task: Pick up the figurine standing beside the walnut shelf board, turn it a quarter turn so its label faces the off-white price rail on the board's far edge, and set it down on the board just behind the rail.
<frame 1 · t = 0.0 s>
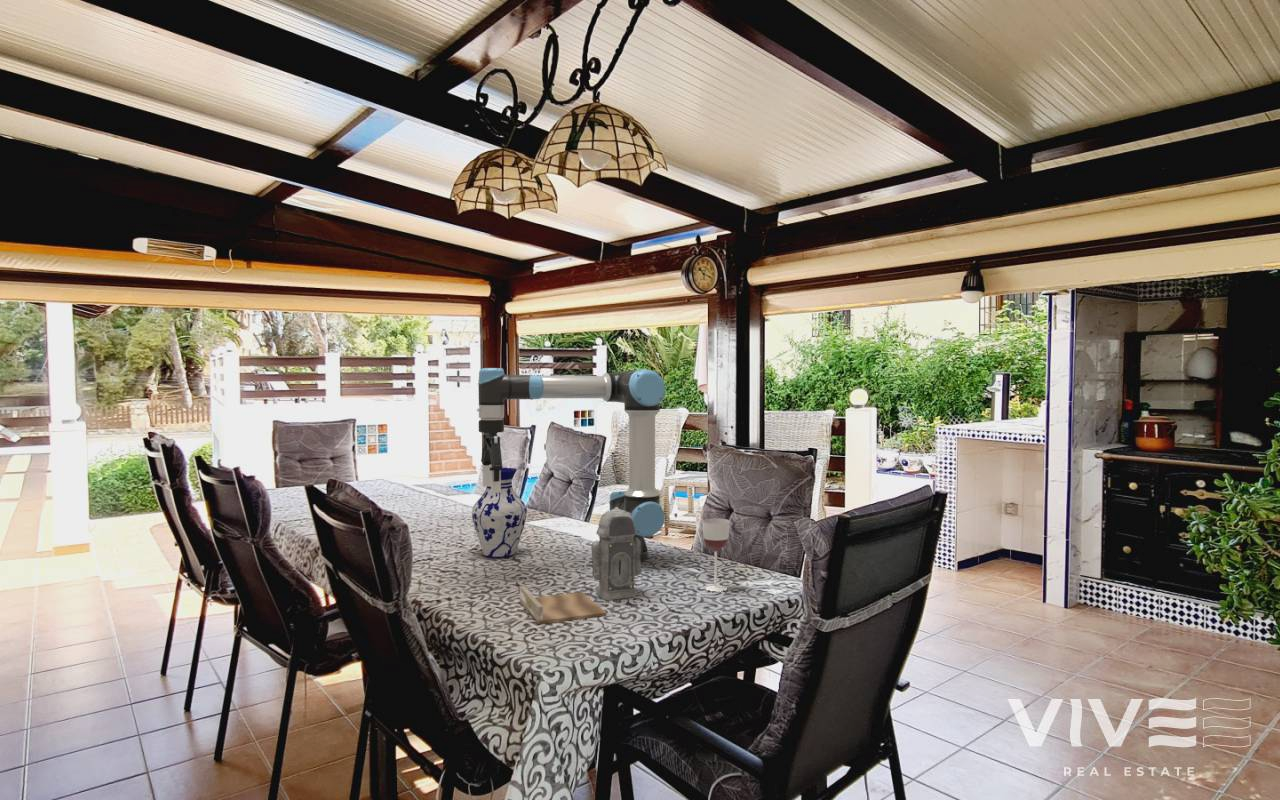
hand: (491, 489, 218), 28 cm above the table, fingers open, 13 cm apart
figurine: (615, 595, 206), on the table
wineglass: (715, 589, 211), on the table
vase: (499, 555, 253), on the table
shelf board: (561, 608, 193), on the table
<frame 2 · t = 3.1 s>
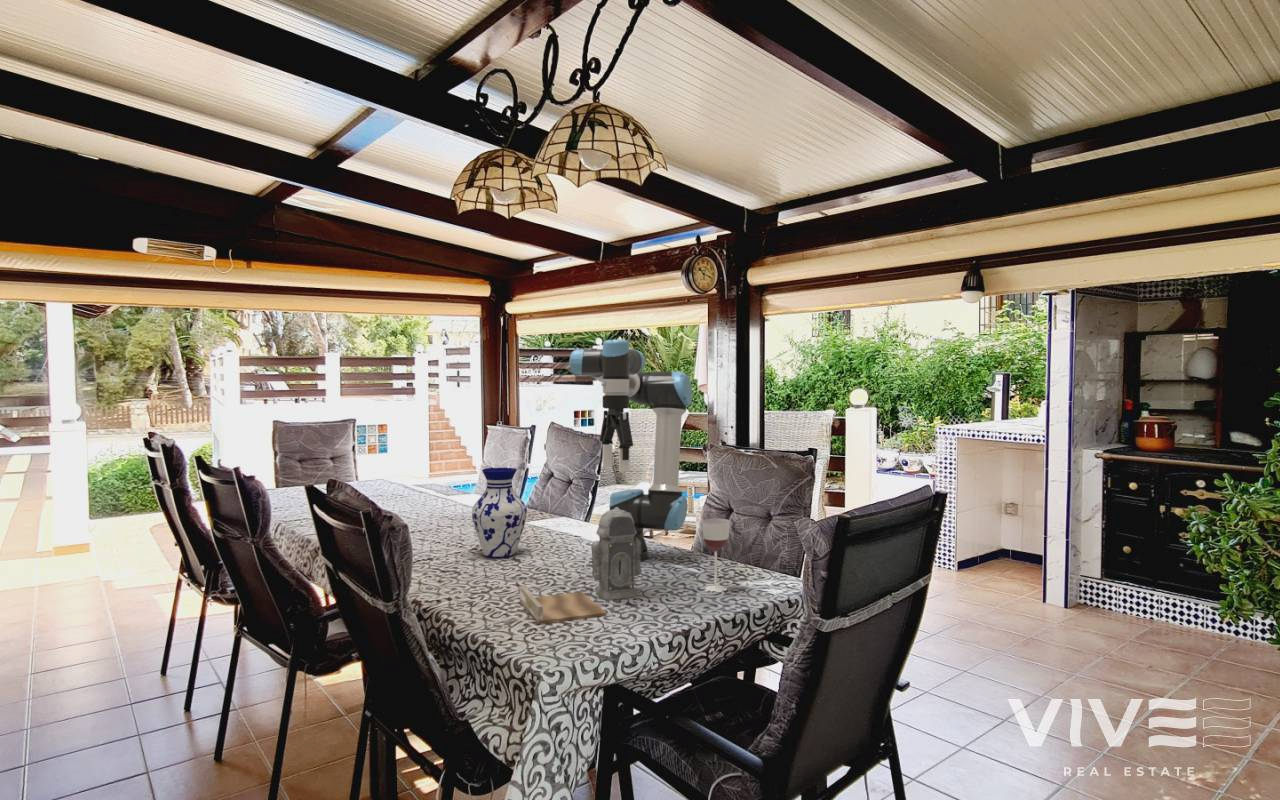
hand: (615, 469, 205), 36 cm above the table, fingers open, 13 cm apart
nothing on the table moved.
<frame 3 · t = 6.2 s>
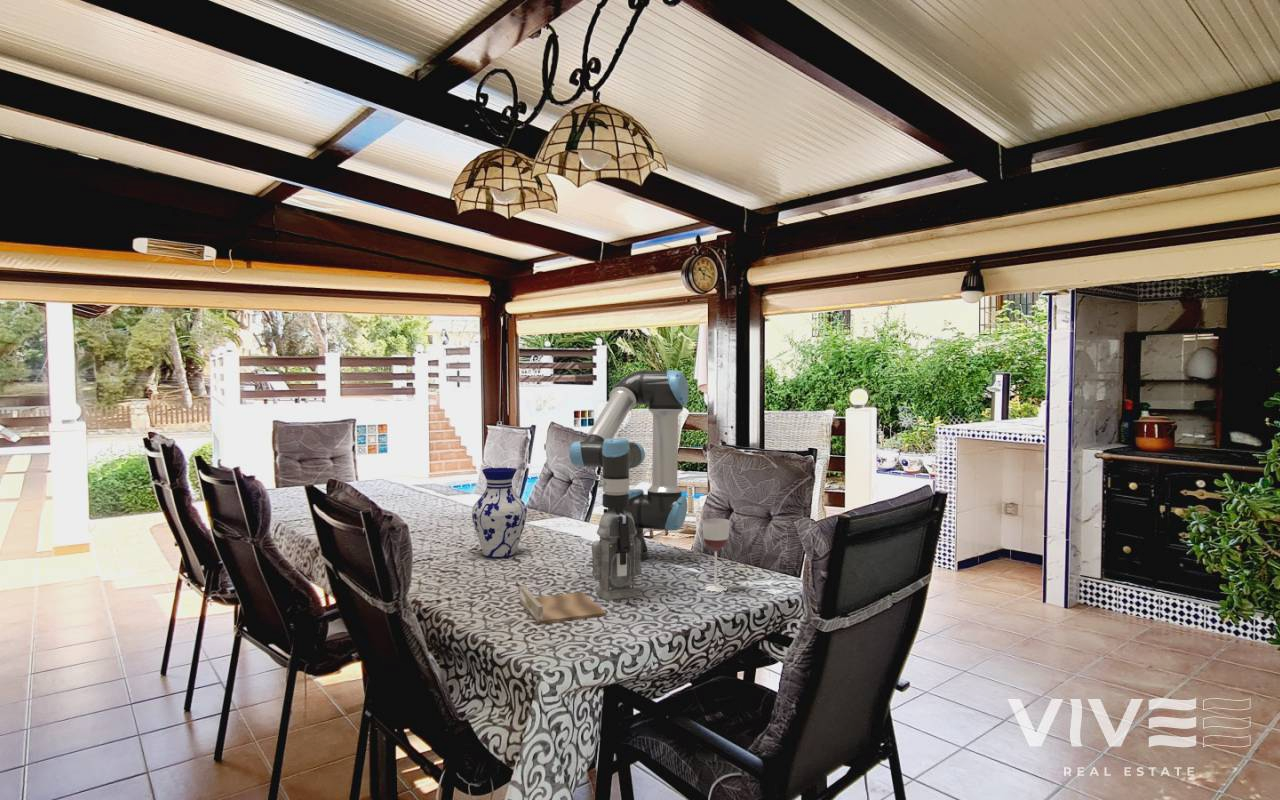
hand: (615, 571, 206), 7 cm above the table, fingers closed on figurine, 9 cm apart
figurine: (615, 594, 206), on the table, touching gripper
everything else where it was.
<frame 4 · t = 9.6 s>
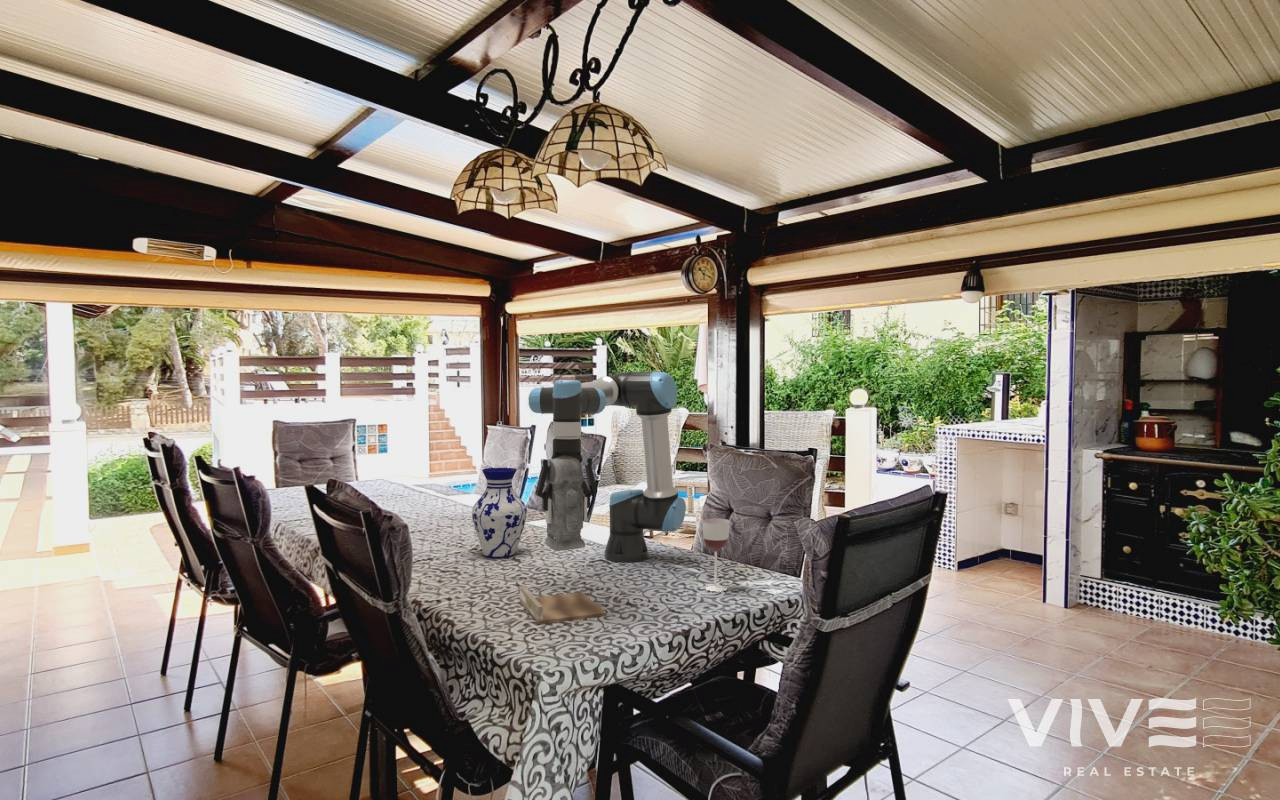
hand: (566, 521, 193), 23 cm above the table, fingers closed on figurine, 9 cm apart
figurine: (566, 546, 193), point 16 cm above the table, touching gripper
everything else where it was.
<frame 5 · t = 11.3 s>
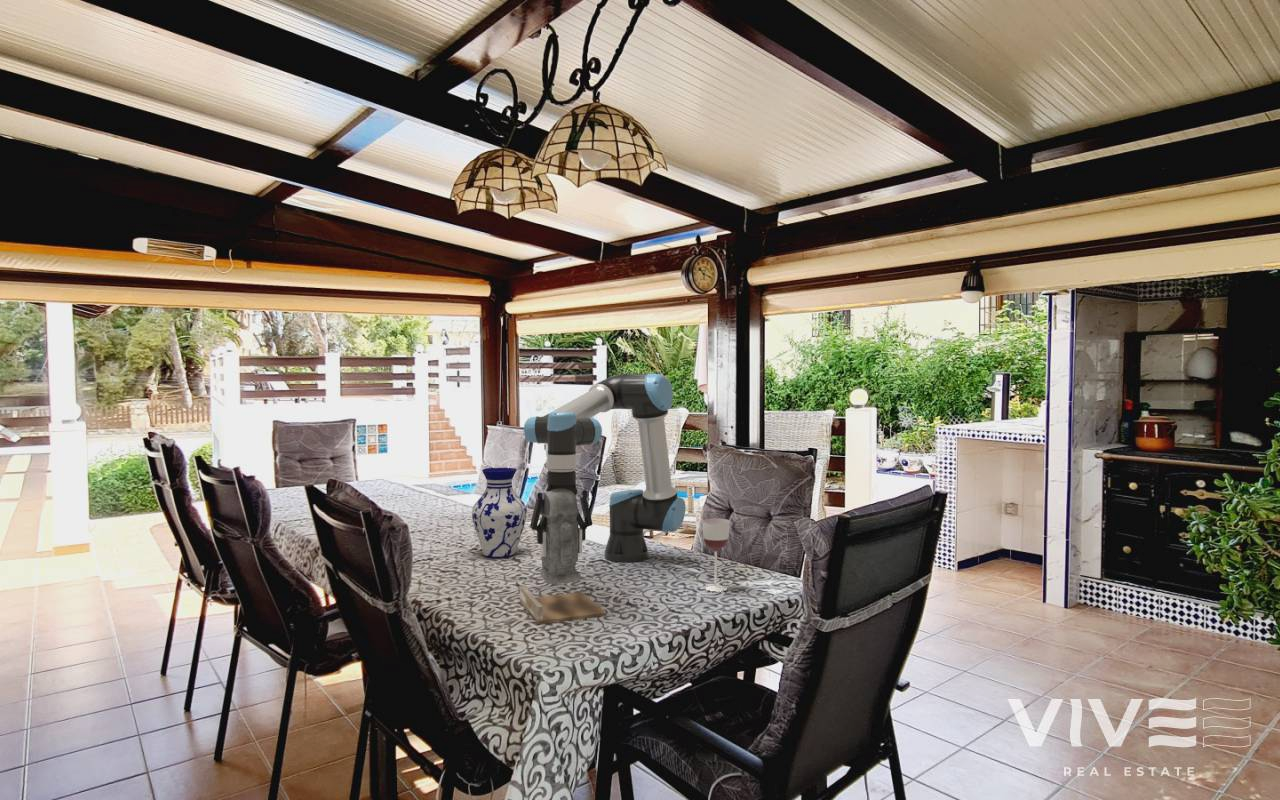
hand: (561, 554, 192), 15 cm above the table, fingers closed on figurine, 9 cm apart
figurine: (561, 579, 192), point 8 cm above the table, touching gripper
everything else where it was.
when the fingers open (8 cm above the table, at t = 13.0 s): figurine stays where it is, resting on shelf board.
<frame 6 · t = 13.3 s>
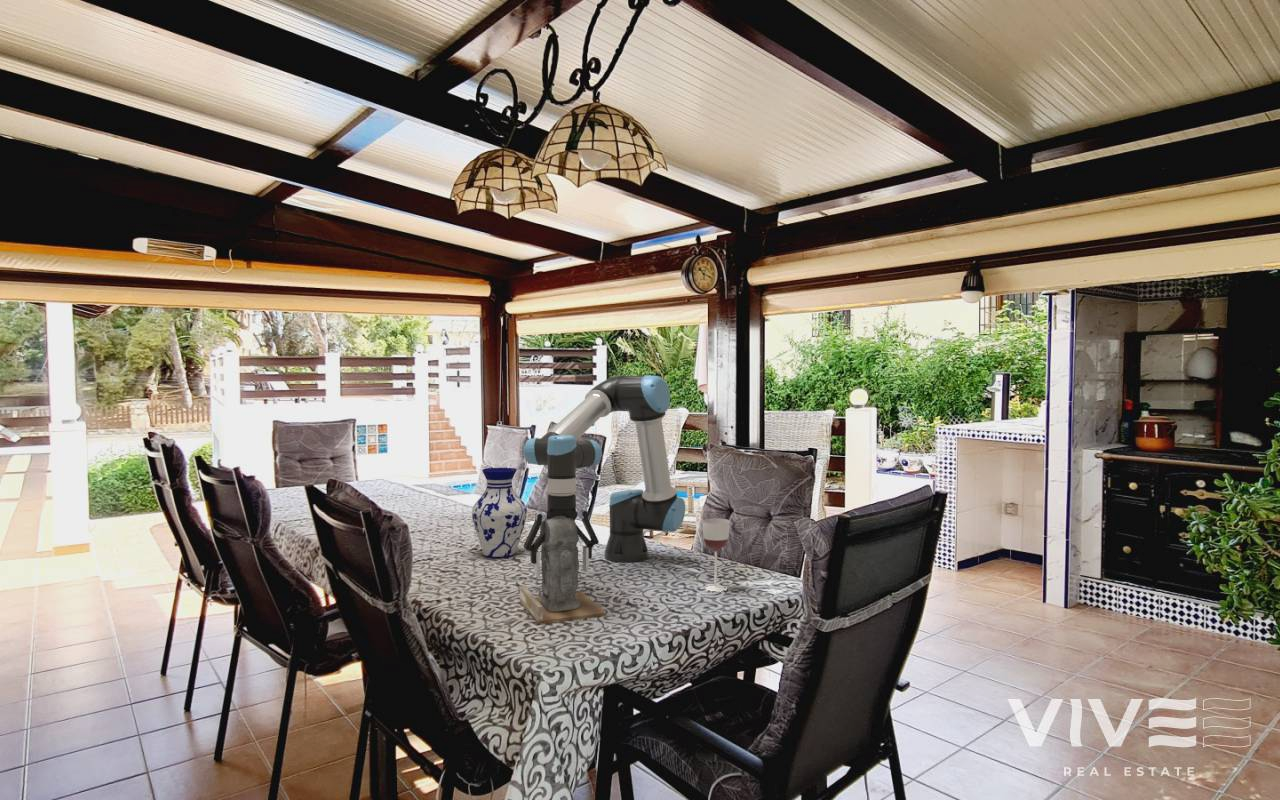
hand: (561, 573, 192), 9 cm above the table, fingers open, 13 cm apart
figurine: (561, 606, 193), point 1 cm above the table, touching shelf board
everything else where it was.
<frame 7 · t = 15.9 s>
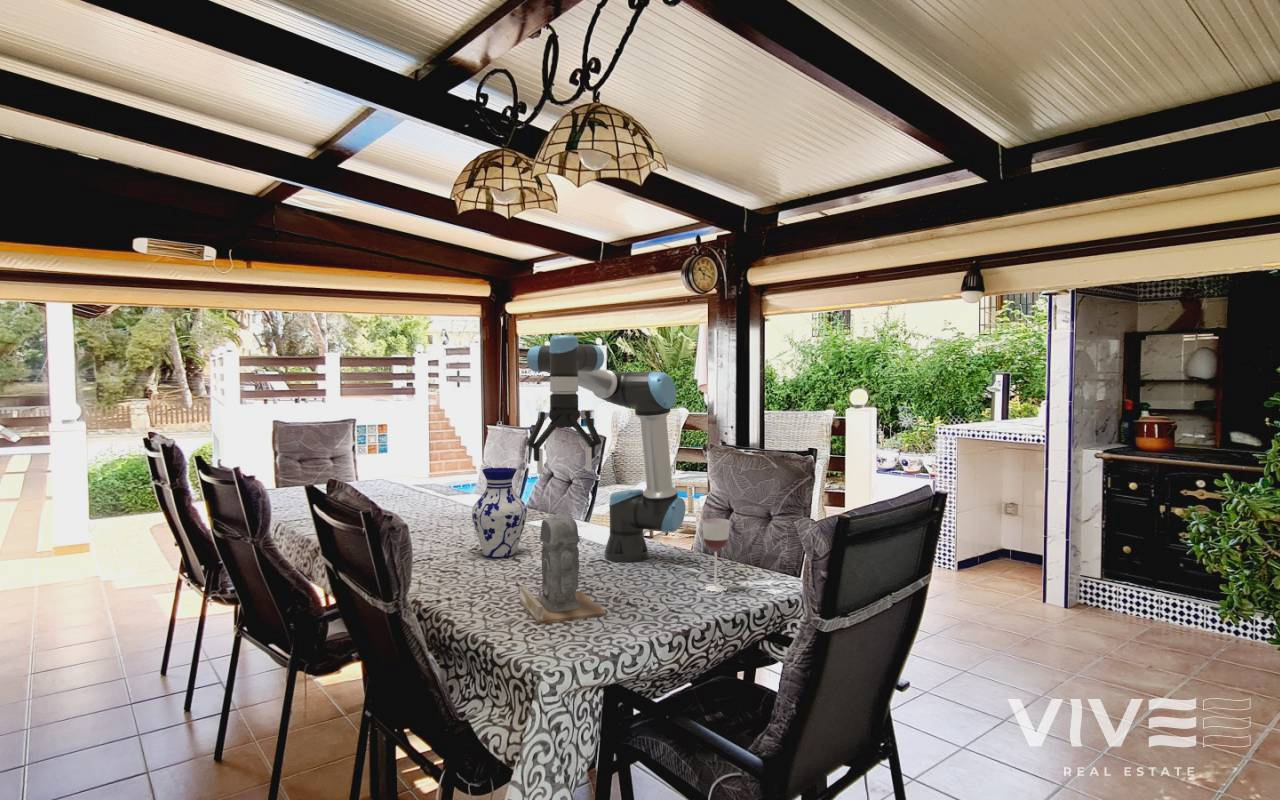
hand: (564, 472, 194), 36 cm above the table, fingers open, 13 cm apart
nothing on the table moved.
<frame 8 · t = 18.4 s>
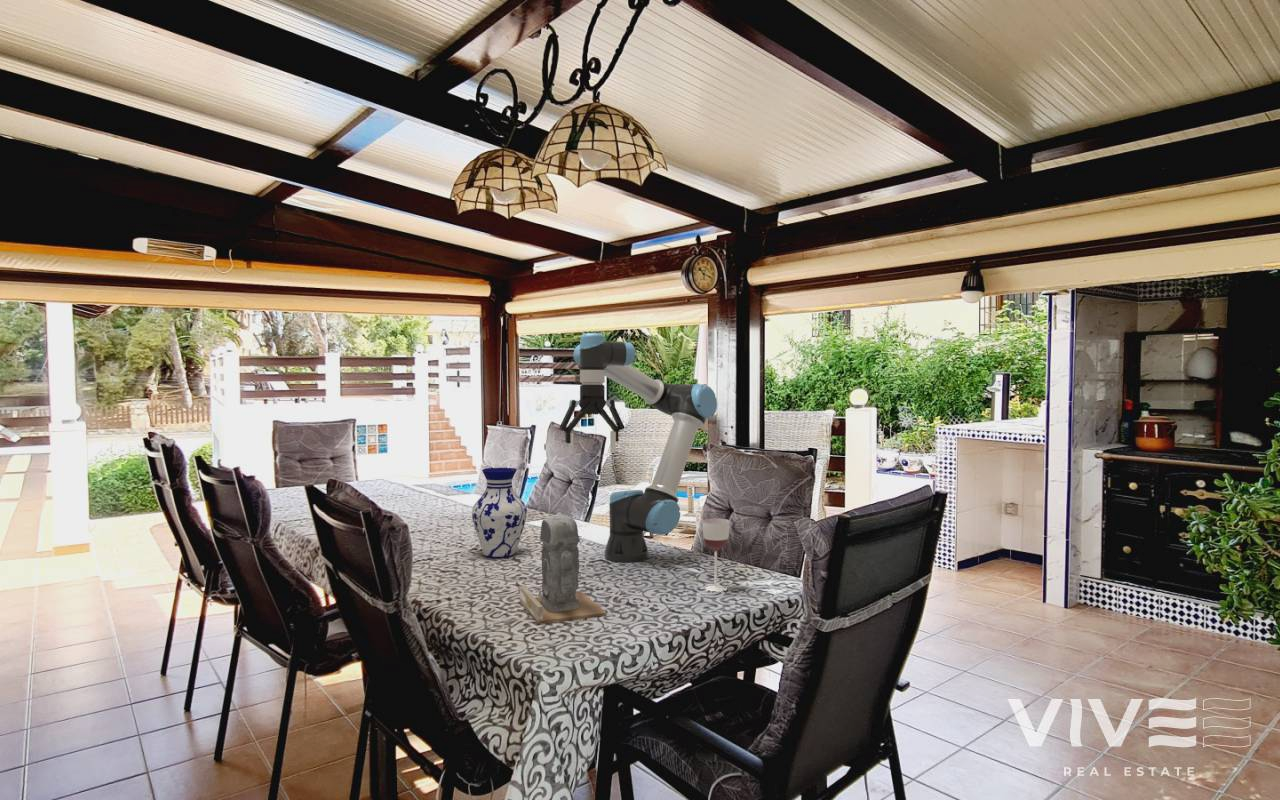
hand: (592, 453, 221), 39 cm above the table, fingers open, 13 cm apart
nothing on the table moved.
at the end: figurine inside the target area (0.3 cm from its centre), point 0.6 cm above the table; figurine tilted 0°; the gripper is holding nothing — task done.
